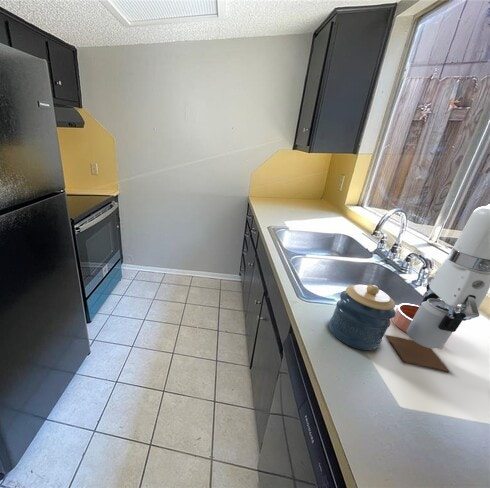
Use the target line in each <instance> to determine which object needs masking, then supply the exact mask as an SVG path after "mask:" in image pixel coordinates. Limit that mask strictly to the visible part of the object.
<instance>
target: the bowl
mask: <svg viewBox="0 0 490 488" xmlns="http://www.w3.org/2000/svg"><path fill="white" fill-rule="evenodd" d="M419 306H420V305H416V304H411V303H400V304H398V305H397V307H396V309H395V312H396V315H395V317H393V318H391V320H392V321H391V322H393V324H394V325H395V326H396V327H397V328H399V330H401V331H403V332H404V333H406V334H407V331H406V330H407V329H408V327H409V325H410V323H411V321H412V320H413V318H414V316H415V314H416V313H417V311H418V309H419Z"/></svg>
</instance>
